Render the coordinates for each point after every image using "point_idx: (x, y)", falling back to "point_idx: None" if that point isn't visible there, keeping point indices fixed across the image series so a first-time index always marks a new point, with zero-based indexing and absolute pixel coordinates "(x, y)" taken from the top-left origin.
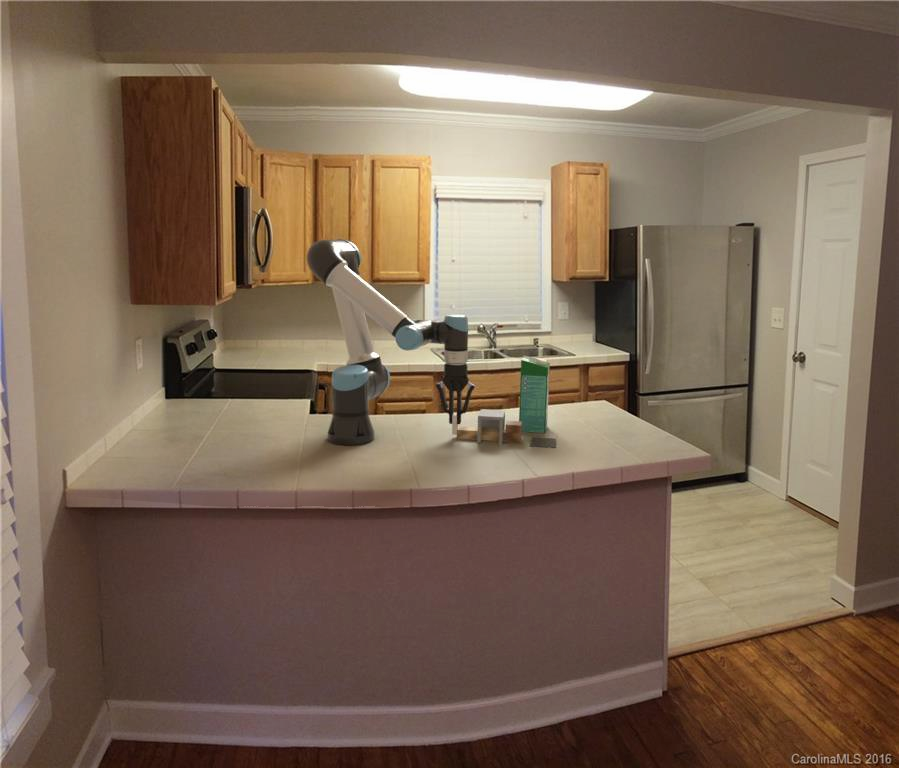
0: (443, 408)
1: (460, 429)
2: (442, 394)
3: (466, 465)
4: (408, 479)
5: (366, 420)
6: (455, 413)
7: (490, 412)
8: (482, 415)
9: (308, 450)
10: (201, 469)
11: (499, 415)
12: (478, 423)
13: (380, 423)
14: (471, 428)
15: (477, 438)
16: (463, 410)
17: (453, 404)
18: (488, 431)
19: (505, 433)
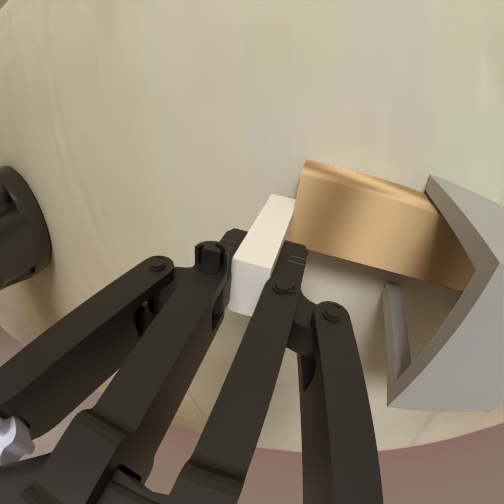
0: (141, 319)
1: (309, 240)
2: (69, 403)
3: (300, 418)
4: (201, 423)
5: (5, 272)
6: (249, 270)
7: (500, 353)
8: (417, 402)
9: (21, 281)
10: (11, 317)
11: (497, 395)
12: (390, 368)
13: (18, 57)
14: (381, 223)
15: (383, 306)
16: (306, 363)
17: (197, 338)
18: (452, 287)
19: None
